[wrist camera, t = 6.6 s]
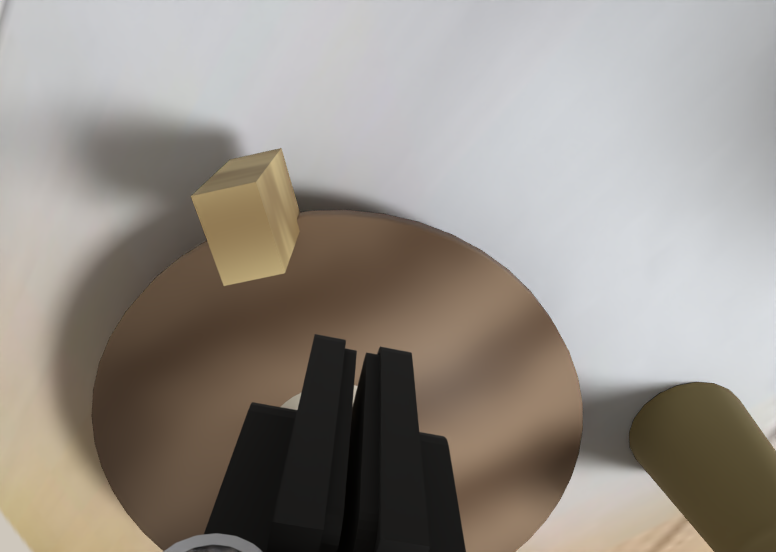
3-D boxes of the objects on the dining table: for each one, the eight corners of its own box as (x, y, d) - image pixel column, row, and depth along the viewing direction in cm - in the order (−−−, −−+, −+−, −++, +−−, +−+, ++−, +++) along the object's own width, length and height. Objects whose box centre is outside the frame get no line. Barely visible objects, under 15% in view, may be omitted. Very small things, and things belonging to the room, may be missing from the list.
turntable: (664, 441, 27) (723, 525, 23) (337, 646, 33) (331, 747, 28) (327, 62, 20) (313, 72, 15) (-20, 409, 26) (-106, 493, 21)
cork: (622, 477, 31) (742, 694, 21) (636, 385, 28) (780, 582, 18) (732, 470, 31) (905, 685, 21) (755, 378, 28) (964, 571, 18)
